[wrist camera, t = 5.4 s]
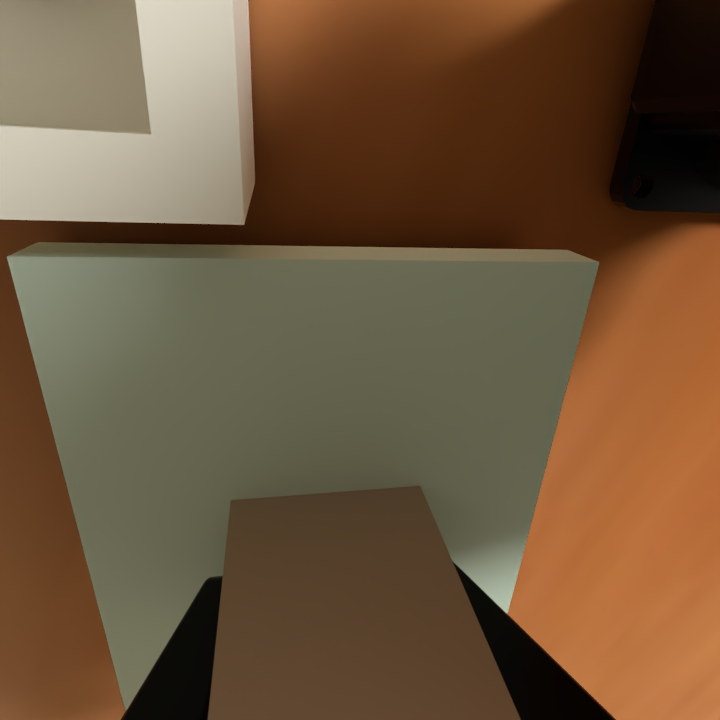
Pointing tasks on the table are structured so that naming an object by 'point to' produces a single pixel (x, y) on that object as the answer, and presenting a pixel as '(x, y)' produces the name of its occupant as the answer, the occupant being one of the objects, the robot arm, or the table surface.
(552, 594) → the table surface
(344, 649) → the lid
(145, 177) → the caddy
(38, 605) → the table surface
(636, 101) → the robot arm
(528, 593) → the table surface
